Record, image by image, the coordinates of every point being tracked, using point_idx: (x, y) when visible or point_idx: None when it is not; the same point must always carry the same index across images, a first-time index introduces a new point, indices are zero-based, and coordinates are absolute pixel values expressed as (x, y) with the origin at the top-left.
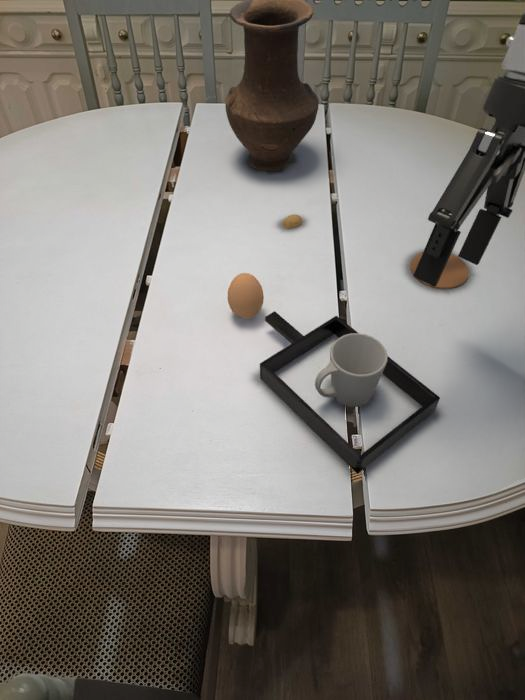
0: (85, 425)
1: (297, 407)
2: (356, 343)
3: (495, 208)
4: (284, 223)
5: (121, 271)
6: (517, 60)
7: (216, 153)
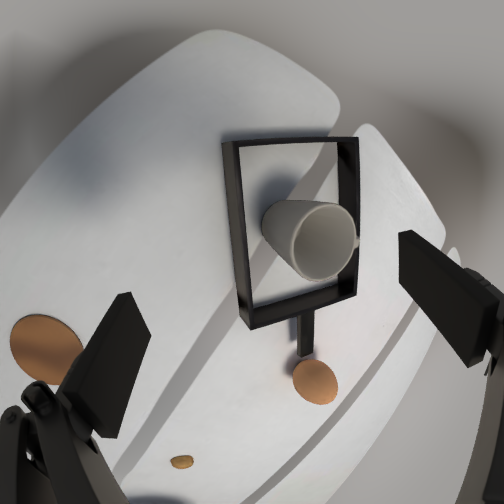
0: None
1: None
2: (298, 266)
3: (73, 427)
4: (193, 461)
5: (342, 424)
6: None
7: None
